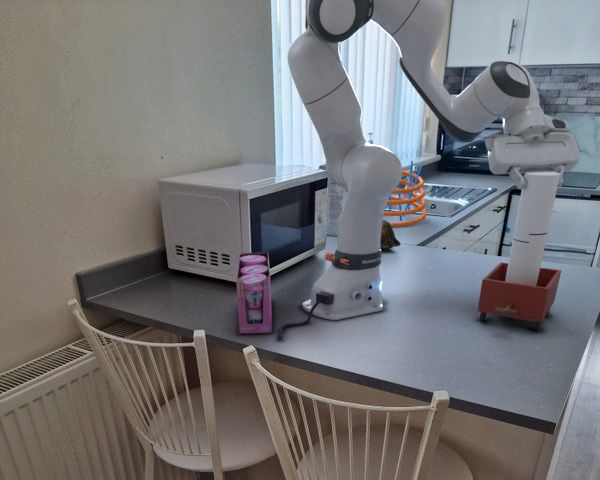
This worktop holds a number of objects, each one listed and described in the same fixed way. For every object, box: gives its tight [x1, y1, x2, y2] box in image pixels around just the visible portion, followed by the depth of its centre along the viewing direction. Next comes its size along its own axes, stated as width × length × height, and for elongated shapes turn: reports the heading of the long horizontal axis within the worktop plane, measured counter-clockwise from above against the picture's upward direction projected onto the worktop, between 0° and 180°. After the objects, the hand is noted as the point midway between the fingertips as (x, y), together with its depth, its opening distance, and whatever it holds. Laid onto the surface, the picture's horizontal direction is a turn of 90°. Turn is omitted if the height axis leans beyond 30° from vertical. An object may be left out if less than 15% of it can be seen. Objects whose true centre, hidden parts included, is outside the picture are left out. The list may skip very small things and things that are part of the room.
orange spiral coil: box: [383, 160, 428, 228], centre depth 232 cm, size 34×35×24 cm
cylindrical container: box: [505, 171, 560, 286], centre depth 123 cm, size 7×7×25 cm
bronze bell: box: [380, 218, 402, 251], centre depth 190 cm, size 17×11×18 cm
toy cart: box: [477, 262, 562, 332], centre depth 129 cm, size 22×15×11 cm, turn 148°
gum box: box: [235, 251, 273, 335], centre depth 133 cm, size 24×8×14 cm, turn 3°
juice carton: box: [318, 163, 348, 237], centre depth 209 cm, size 9×10×27 cm
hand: (541, 186), depth 118 cm, fingers closed on cylindrical container, 7 cm apart
